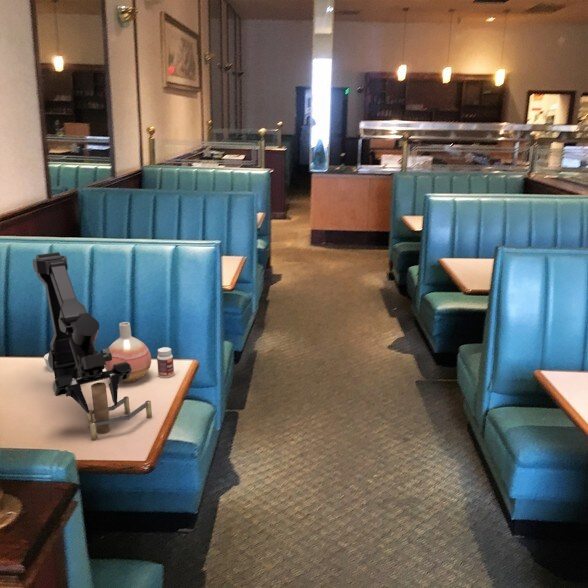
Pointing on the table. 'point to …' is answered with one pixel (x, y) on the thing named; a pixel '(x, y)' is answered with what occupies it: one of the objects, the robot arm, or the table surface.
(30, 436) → the table surface
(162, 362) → the pill bottle
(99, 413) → the walnut peg
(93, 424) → the wire course
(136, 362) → the vase
